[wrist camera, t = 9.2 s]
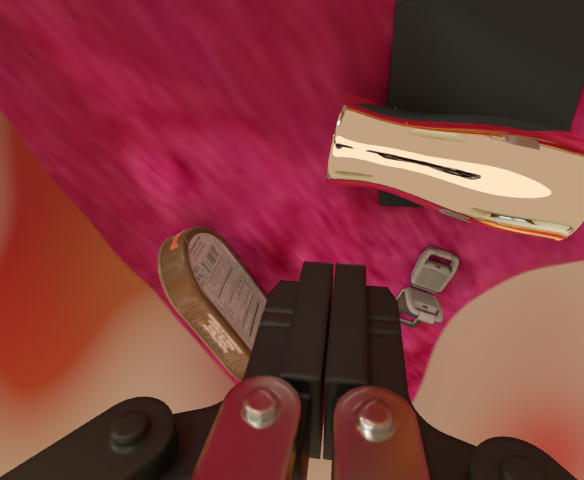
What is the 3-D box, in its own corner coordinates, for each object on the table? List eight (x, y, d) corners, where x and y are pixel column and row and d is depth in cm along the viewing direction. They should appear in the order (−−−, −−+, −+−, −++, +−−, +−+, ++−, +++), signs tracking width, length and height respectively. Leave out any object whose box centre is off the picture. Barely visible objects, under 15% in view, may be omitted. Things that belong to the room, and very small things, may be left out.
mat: (379, 203, 33) (379, 205, 33) (396, 0, 26) (396, 0, 26) (541, 209, 32) (543, 212, 31) (608, -7, 24) (611, -6, 24)
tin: (179, 219, 37) (134, 275, 30) (207, 204, 36) (166, 259, 29) (270, 336, 43) (250, 406, 36) (296, 326, 42) (281, 397, 34)
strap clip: (426, 242, 35) (433, 272, 31) (461, 254, 35) (471, 285, 31) (385, 315, 39) (386, 348, 36) (416, 325, 39) (420, 359, 36)
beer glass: (343, 130, 33) (544, 173, 31) (321, 207, 30) (538, 260, 28) (353, 60, 26) (608, 109, 24) (325, 150, 24) (608, 213, 22)
